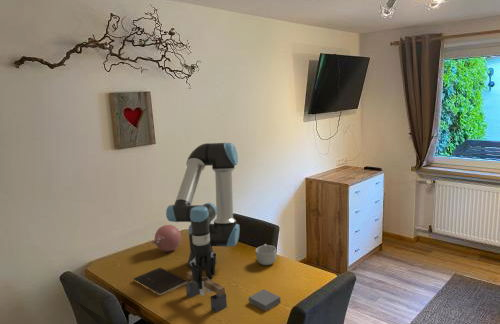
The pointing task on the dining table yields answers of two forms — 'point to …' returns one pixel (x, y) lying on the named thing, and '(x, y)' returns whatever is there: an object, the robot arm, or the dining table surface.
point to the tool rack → (216, 300)
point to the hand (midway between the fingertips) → (205, 293)
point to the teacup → (266, 254)
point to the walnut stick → (209, 284)
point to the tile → (264, 300)
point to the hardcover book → (161, 281)
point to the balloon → (167, 238)
